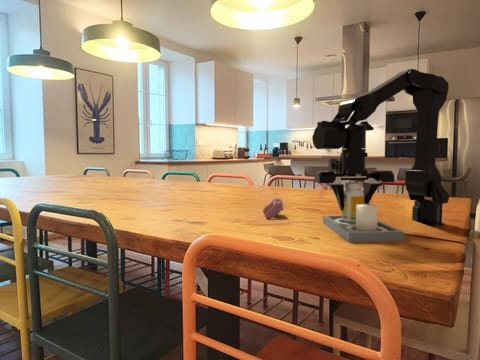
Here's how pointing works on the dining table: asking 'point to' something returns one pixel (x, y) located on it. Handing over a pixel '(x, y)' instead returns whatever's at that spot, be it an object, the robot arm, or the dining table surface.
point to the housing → (351, 235)
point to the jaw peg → (366, 217)
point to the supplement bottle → (352, 200)
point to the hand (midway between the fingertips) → (352, 210)
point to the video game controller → (273, 208)
